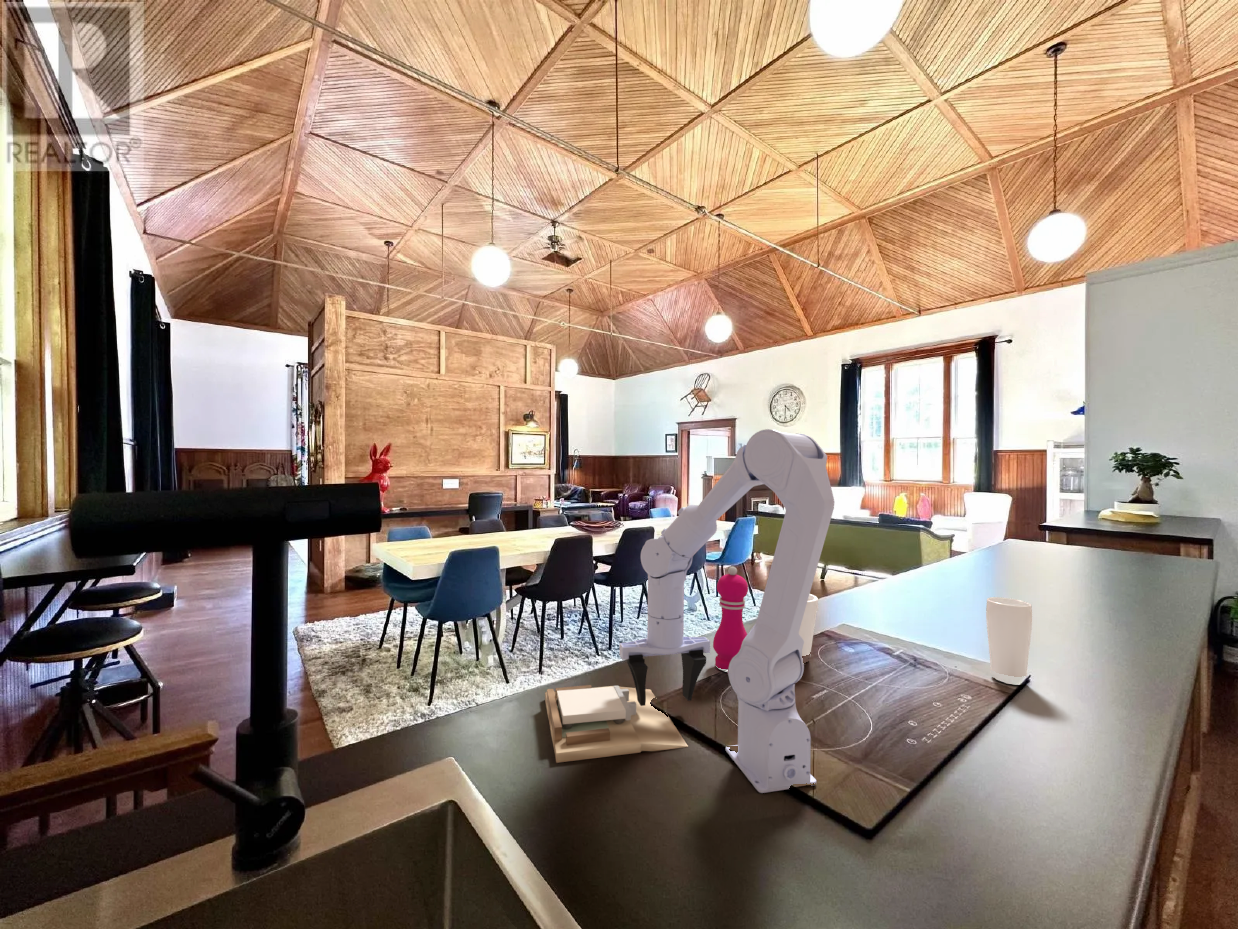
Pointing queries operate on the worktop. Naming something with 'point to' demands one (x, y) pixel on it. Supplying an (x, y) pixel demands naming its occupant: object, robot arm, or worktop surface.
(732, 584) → the pepper mill
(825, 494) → the robot arm
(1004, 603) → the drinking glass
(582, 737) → the dock
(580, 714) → the white tabbed block
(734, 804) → the worktop surface
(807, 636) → the foam cup
